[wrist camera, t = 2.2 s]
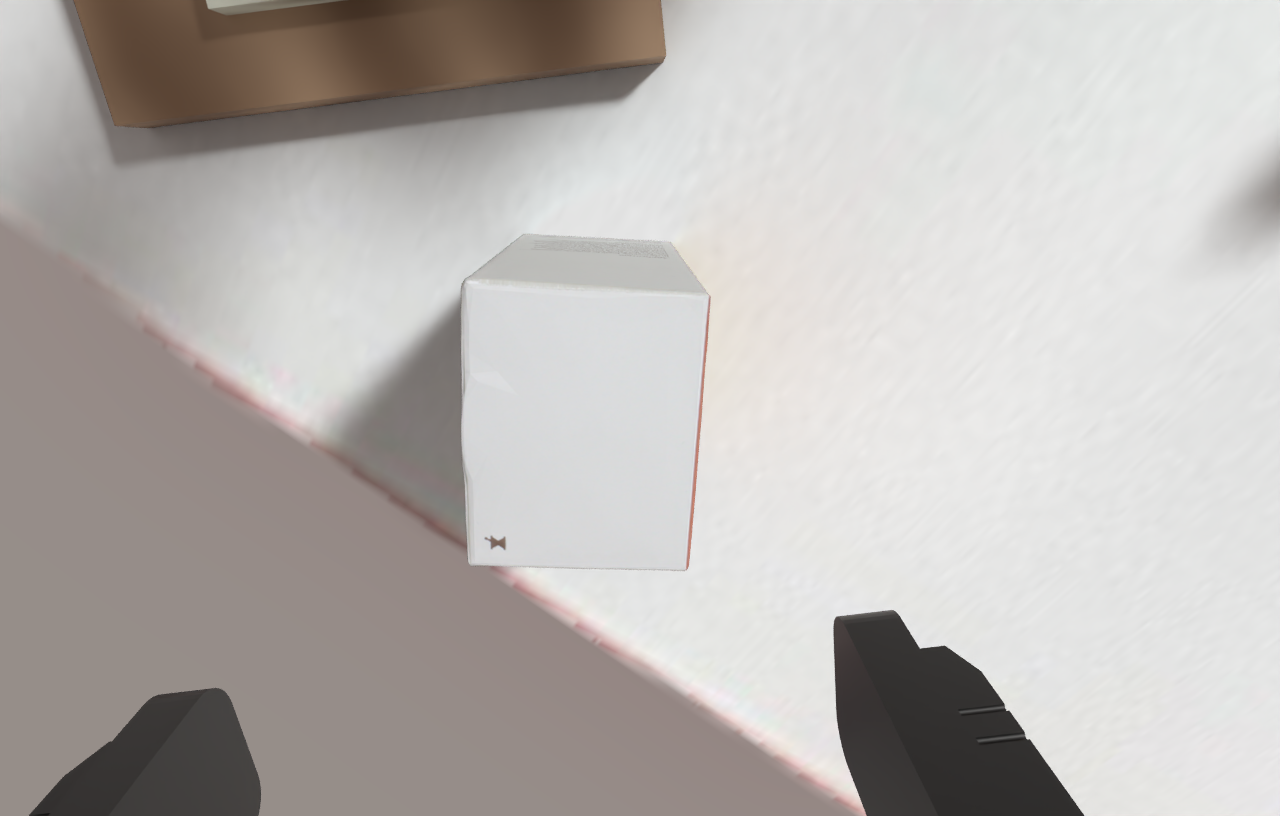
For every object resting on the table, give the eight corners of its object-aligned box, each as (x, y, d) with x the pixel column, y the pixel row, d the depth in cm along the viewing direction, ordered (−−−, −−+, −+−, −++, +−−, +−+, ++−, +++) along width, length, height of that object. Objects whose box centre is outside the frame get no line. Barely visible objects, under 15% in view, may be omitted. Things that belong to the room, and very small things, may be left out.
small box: (663, 421, 33) (690, 580, 21) (520, 416, 33) (461, 572, 20) (675, 236, 30) (714, 290, 18) (520, 229, 30) (452, 278, 18)
